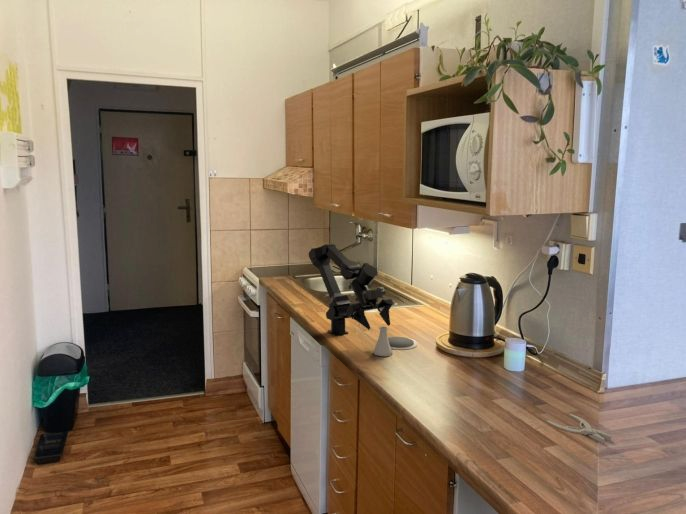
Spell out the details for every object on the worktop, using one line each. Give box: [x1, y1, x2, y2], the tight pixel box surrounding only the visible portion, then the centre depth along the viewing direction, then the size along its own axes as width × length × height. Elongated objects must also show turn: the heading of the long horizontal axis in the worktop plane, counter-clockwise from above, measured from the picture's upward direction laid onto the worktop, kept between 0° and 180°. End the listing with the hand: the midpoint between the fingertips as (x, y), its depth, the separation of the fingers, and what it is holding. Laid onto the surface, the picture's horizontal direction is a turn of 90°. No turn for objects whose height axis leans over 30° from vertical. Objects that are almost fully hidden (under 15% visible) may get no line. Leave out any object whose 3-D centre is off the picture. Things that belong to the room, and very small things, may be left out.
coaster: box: [387, 336, 419, 351], centre depth 218 cm, size 15×15×1 cm
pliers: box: [546, 413, 612, 444], centre depth 149 cm, size 10×2×15 cm
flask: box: [372, 326, 393, 357], centre depth 206 cm, size 7×7×10 cm
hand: (379, 327), depth 207 cm, fingers open, 9 cm apart
